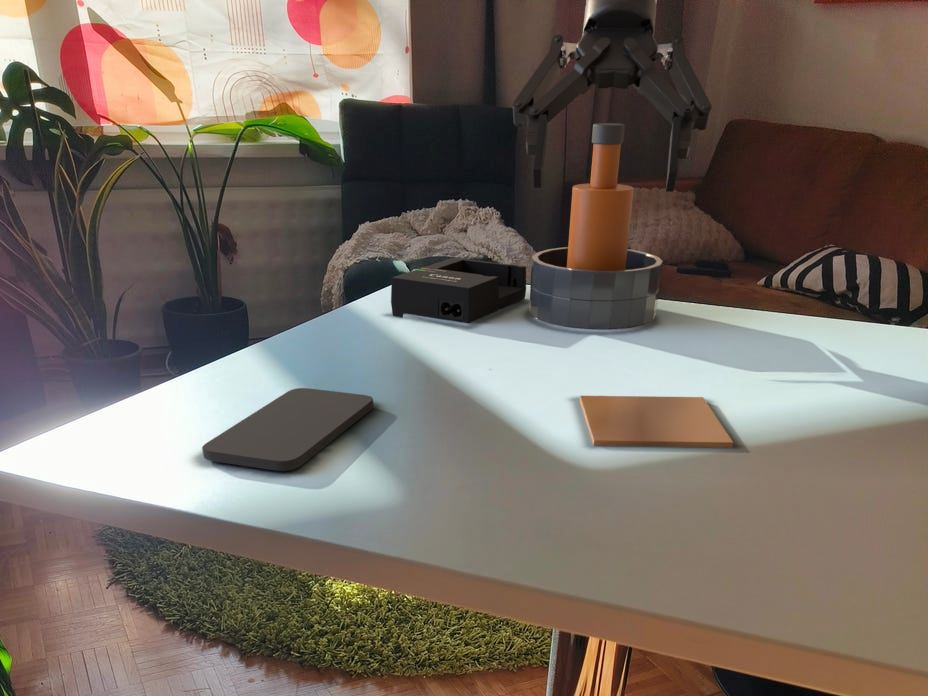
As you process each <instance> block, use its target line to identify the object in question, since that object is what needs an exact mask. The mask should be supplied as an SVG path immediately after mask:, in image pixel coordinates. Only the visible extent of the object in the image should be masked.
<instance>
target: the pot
mask: <svg viewBox="0 0 928 696" xmlns="http://www.w3.org/2000/svg"><path fill="white" fill-rule="evenodd" d="M567 258H568V246H565V247H557V248H549V249H545V250H541V251H538V252H536V253H535V254H533V255H532V256H531V269H530V287H529V288H530V290H529V306H528V307H529V309H528V311H529V314H530V316H532V317H533V318H534V319H535V320H538V321H540V322H543V323H545V324H546V323H547V324H549V325H554V326H558V327H564V328H573V329H582V330H620V329H621V330H622V329H630V328H631V329H632V328H636V327H640V326H641V327H642V326H644V325H646V324H650V323H651V322H653V320H654V319H655V317H656V316H657V308H658V301H659V293H660V284H661V279H662V278H661V277H662V271H663V262H664V261H663V260H662V259H661V258H660V257H659V256H657V255H654V254H651V253H649V252H646V251H645V252H644V251H641V250H635V249H628V248H627V257H626V266H625V270H618V271H593V270H580V269H571V268H567Z"/></svg>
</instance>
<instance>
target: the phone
mask: <svg viewBox="0 0 928 696" xmlns="http://www.w3.org/2000/svg"><path fill="white" fill-rule="evenodd" d="M373 409H374V398H373V397H372V396H370V395H366V394H359V393H351V392H344V391H343V392H342V391H334V390H327V389H317V388H308V387H299V388H298V387H297V388H293V389H290V390H288V391H286V392H285V393H283V394H281V395H280V396H278V397H277V398H275V399H274V400H272V401H271V402H269V403H267V404H266V405H264V406H262V407H261V408H259V409H258V410H256V411H254V412H253V413H251V414H250V415H249V416H247V417H245V418H243V419H241V420H240V421H239V422H237V423H235V424H234V425H232V426H231V427H229V428H228V429H226V430H224V431H223V432H222V433H220V434H218V435H217V436H215V437H214V438H212V439H210V440H209V441H208V442H206V443H204V444H203V445H202V447H201V450H202V456H203V458H204V459H205V460H207V461H209V462H214V463H220V464H221V463H222V464H229V465H236V466H242V467H250V468H256V469H263V470H271V471H280V472H289V471H293V470H296V469H298V468H300V467H301V466H303V465H304V464H305V463H307V462H308V461H309V460H311V459H312V458H313V457H314V456H316V455H317V454H318V453H319V452H320V451H322V450H323V449H324V448H325V447H327V446H328V445H329V444H331V443H332V442H333V441H335V439H337V438H338V437H339V436H340V435H341V434H343V433H344V432H345V431H346V430H348V429H350V428H351V427H352V426H353V425H354V424H356V422H358V421H359V420H360V419H361V418H363V417H365V415H367V414H368V413H369V412H371V410H373Z"/></svg>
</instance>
